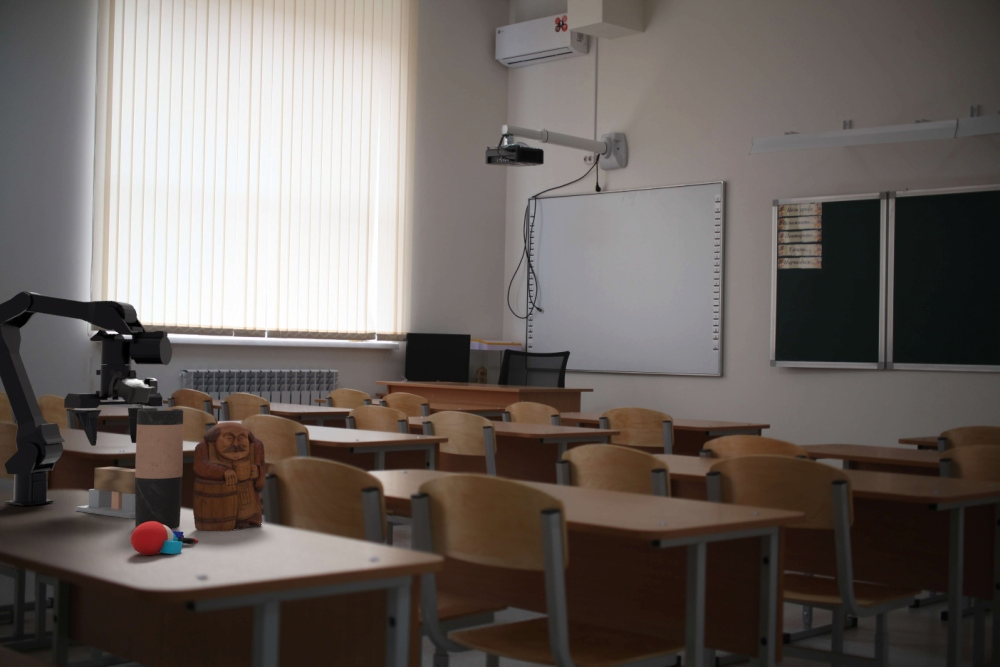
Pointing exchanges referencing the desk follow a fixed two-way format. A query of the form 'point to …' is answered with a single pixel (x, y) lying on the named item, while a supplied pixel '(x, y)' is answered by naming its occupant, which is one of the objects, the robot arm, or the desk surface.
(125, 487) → the walnut bar
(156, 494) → the travel mug
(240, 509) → the wooden figurine
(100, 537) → the desk surface
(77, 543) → the desk surface
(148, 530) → the toy figure
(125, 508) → the pale grey flat fixture
